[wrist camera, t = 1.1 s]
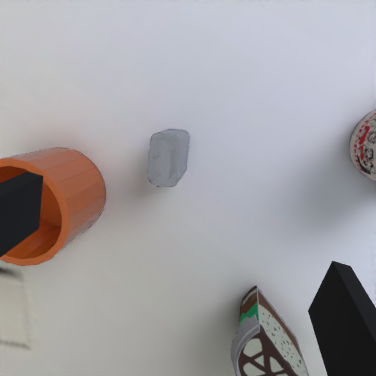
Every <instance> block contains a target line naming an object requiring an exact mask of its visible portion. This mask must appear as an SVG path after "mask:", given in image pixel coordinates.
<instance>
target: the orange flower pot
mask: <svg viewBox="0 0 376 376" xmlns="http://www.w3.org/2000/svg"><path fill="white" fill-rule="evenodd" d="M27 171H29V172H32V173H35V174H39V175H42V176H43V187H42V199H41V211H40V223H39V229H38V230H37V231H35V232H34V233H33V234H31V235H30V236H29V237H27V238H26V239H25V240H23V241H22V242H21V243H19V244H18V245H17V246H15V247H14V248H12V249H11V250H10V251H8V252H7V253H6V254H4V255H3V256H2V257H0V259H1V260H3V261H5V262H7V263H11V264H16V265H20V266H28V265H38V264H40V263H43V262H45V261H47V260H49V259H51V258H53V257H54V256H55V255H56V254H57V253H59V252H60V251H61V250H62V249H63V248H65V247H66V246H67V245H68V244H69V243H71V242H72V241H73V240H74V239H76V238H77V237H78V236H79V235H80V234H82V233H83V232H84V231H85V230H86V229H88V228H89V227H90V226H91V225H92V224H93V223H94V222H95V221H96V220H97V219H98V218H99V216H100V215H101V213H102V211H103V208H104V205H105V200H106V190H105V184H104V181H103V178H102V176H101V174H100V172H99V170H98V169H97V167H96V166H95V165H94V164H93V163H92V162H91V161H90V160H89V159H88V158H87V157H86V156H84V155H83V154H81V153H79V152H77V151H75V150H72V149H68V148H51V149H45V150H40V151H35V152H30V153H25V154H20V155H15V156H10V157H5V158H1V159H0V183H1V182H4V181H6V180H8V179H11V178H13V177H15V176H18V175H20V174H22V173H25V172H27Z"/></svg>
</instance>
